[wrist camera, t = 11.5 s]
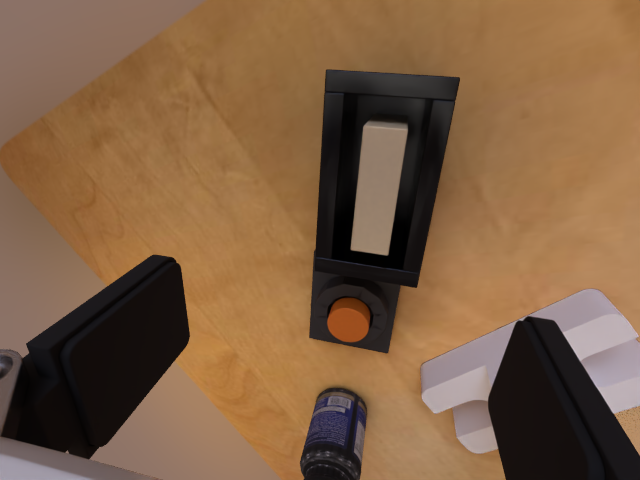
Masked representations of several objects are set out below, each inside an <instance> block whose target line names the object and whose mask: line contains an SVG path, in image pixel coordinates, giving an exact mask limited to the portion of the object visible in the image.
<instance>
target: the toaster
mask: <svg viewBox="0 0 640 480" xmlns="http://www.w3.org/2000/svg"><path fill="white" fill-rule="evenodd" d="M459 82H460V78H459V77H444V76H428V75H411V74H394V73H377V72H361V71H344V70H326V78H325V95H324V112H323V130H322V147H321V165H320V182H319V200H318V217H317V235H316V252H315V256H316V257H315V269H314V271H317V272H323V273H329V274H335V275H341V276H347V277H353V278H360V279H366V280H372V281H378V282H384V283H390V284H396V285H402V286H409V287H415V288H417V285H418V280H419V275H420V270H421V266H422V261H423V256H424V251H425V246H426V241H427V237H428V232H429V227H430V222H431V217H432V212H433V208H434V203H435V198H436V193H437V188H438V183H439V178H440V174H441V169H442V164H443V159H444V154H445V149H446V145H447V140H448V135H449V130H450V125H451V120H452V116H453V111H454V106H455V100H456V96H457V91H458V86H459ZM374 114H389V115H401V116H407V118H408V133H407V140H406V146H405V152H404V159H403V165H402V171H401V178H400V184H399V190H398V197H397V203H396V209H395V216H394V222H393V228H392V235H391V241H390V247H389V254H388V255H387V256H386V255H380V254H373V253H366V252H360V251H353V250H351V240H352V230H353V221H354V211H355V202H356V192H357V183H358V173H359V164H360V154H361V145H362V135H363V127H364V125H365V124H366V123H367V122H368V121H369V120H370V118H371V117H372V116H373V115H374Z"/></svg>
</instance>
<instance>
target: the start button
mask: <svg viewBox="0 0 640 480" xmlns="http://www.w3.org/2000/svg"><path fill="white" fill-rule="evenodd" d="M369 323H370V311H369V309H368V307H367V306H366V305H365V304H364V303H363V302H362V301H360V300H358V299H356V298H351V297H345V298H341V299H339V300H337V301H336V302H335V303H334V304H333V306H332V308H331V311H330V314H329V317H328V321H327V325H328V328H329V331H330V332H331V333H332V335H333V336H335V337H336V338H337V339H339V340H342V341H345V342H356V341H359V340H361V339H363V338H364V337H365V336H366V335H367V333H368V330H369Z"/></svg>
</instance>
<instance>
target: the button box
mask: <svg viewBox="0 0 640 480" xmlns="http://www.w3.org/2000/svg"><path fill="white" fill-rule="evenodd" d="M315 252H316V249H315V251H314V263H313V281H312V299H311V317H310V335H309V337H310V338H312V339H317V340H322V341H327V342H333V343H338V344H343V345H348V346H353V347H358V348H363V349H368V350H373V351H378V352H383V353H388V351H389V346H390V340H391V335H392V329H393V324H394V318H395V313H396V307H397V302H398V296H399V291H400V285H396V284H390V283H384V282H378V281H372V280H366V279H360V278H353V277H347V276H341V275H335V274H329V273H323V272H317V271H314V269H315V257H316V256H315ZM345 297H351V298H356V299H358V300H360V301H362V302H363V303H364V304H365V305H366V306H367V307H368V309H369V311H370V323H369V330H368V333H367V335H366V336H365V337H364V338H363V339H361V340H359V341H356V342H345V341H342V340H339V339H337V338H336V337H335V336H333V335H332V333H331V332H330V331H329V328H328V325H327V321H328V317H329V314H330V311H331V308H332V306H333V304H334V303H335V302H336V301H337V300H339V299H341V298H345Z"/></svg>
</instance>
